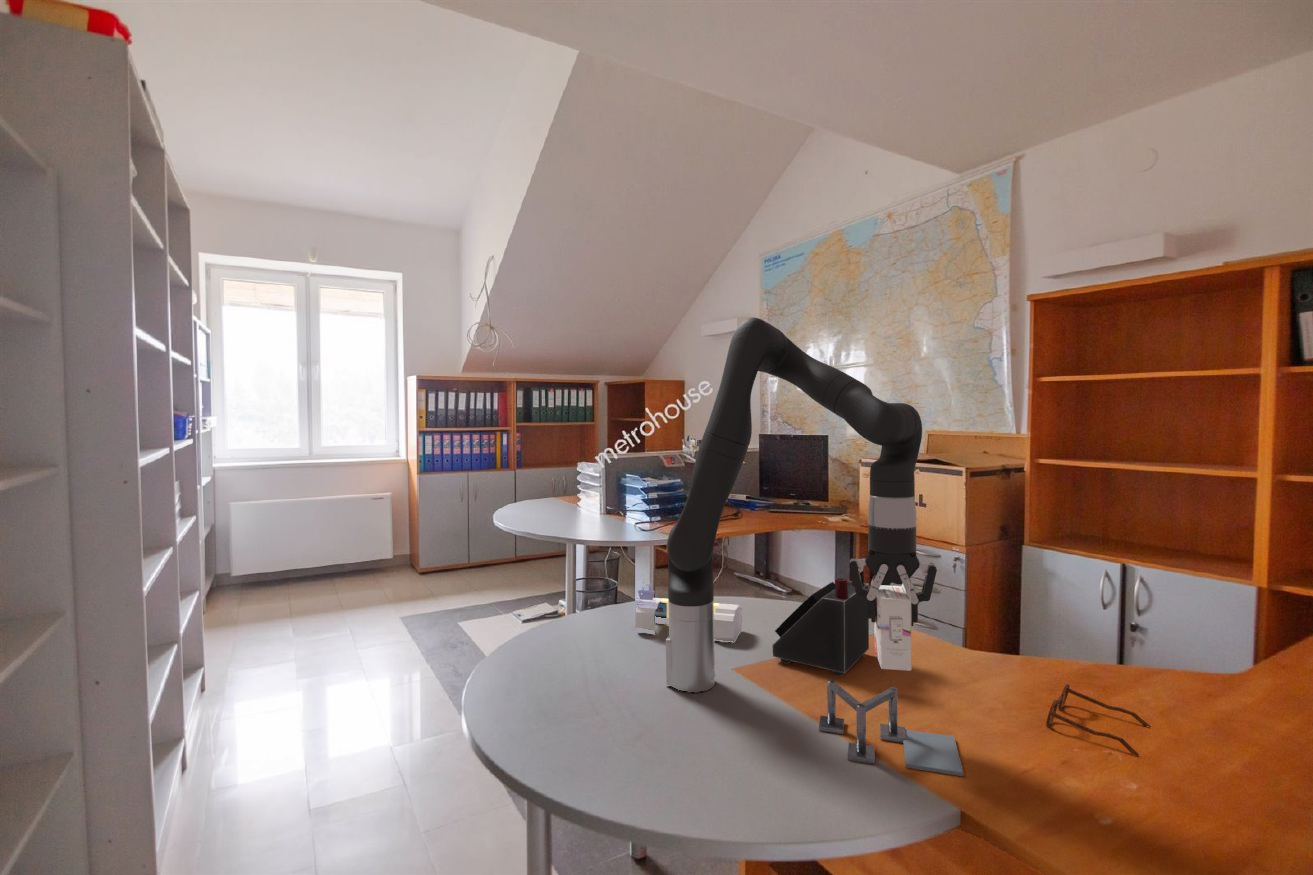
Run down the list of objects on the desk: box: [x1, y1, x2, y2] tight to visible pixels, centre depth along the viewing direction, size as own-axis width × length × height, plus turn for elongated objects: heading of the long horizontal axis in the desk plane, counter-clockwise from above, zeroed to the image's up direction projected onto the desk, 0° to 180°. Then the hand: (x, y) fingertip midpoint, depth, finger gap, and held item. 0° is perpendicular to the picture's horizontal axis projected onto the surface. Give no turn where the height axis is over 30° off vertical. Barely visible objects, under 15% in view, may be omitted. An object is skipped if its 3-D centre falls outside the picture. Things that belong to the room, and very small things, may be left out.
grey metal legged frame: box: [818, 679, 907, 765], centre depth 102 cm, size 14×12×8 cm
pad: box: [902, 729, 964, 777], centre depth 99 cm, size 8×11×1 cm
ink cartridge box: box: [873, 578, 913, 672], centre depth 104 cm, size 9×5×15 cm, turn 168°
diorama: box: [635, 583, 743, 642], centre depth 156 cm, size 25×10×13 cm, turn 71°
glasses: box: [1045, 683, 1152, 756], centre depth 106 cm, size 13×13×5 cm
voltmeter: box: [772, 568, 870, 677], centre depth 138 cm, size 16×16×20 cm
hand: (892, 622), depth 104 cm, fingers closed on ink cartridge box, 5 cm apart
